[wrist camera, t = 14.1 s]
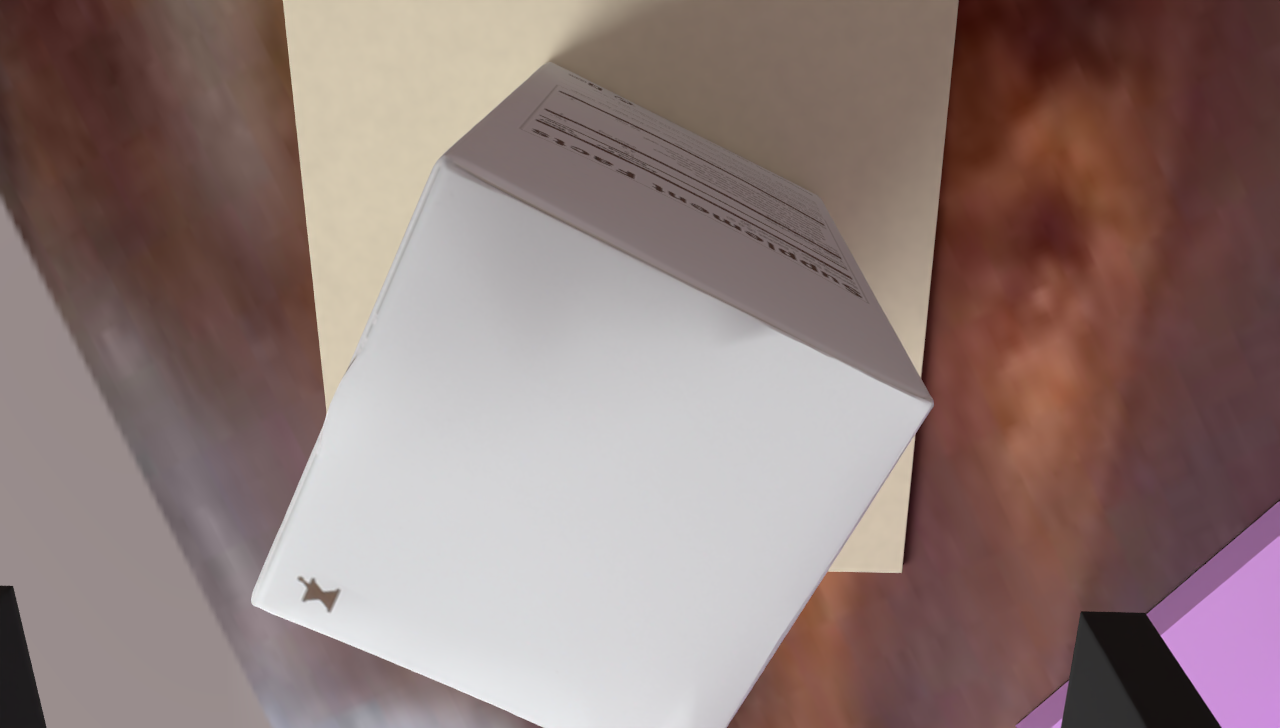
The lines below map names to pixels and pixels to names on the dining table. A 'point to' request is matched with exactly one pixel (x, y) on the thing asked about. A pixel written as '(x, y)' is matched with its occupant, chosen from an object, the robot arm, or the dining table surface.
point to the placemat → (660, 82)
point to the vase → (1221, 632)
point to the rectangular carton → (597, 423)
